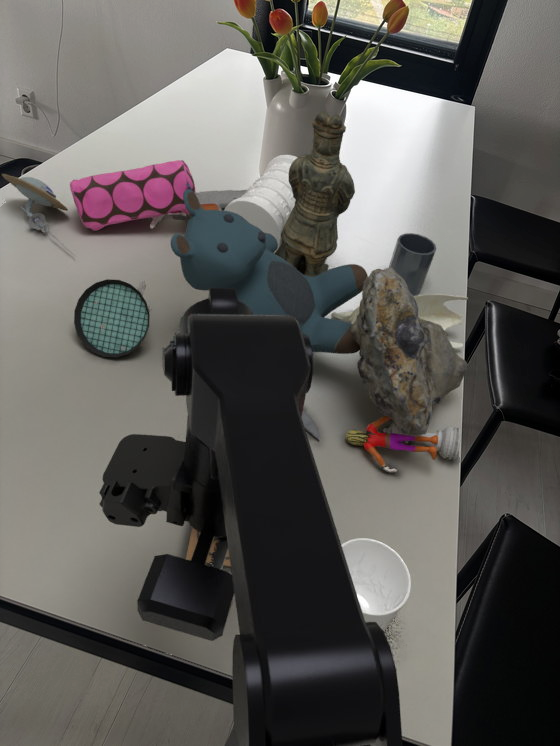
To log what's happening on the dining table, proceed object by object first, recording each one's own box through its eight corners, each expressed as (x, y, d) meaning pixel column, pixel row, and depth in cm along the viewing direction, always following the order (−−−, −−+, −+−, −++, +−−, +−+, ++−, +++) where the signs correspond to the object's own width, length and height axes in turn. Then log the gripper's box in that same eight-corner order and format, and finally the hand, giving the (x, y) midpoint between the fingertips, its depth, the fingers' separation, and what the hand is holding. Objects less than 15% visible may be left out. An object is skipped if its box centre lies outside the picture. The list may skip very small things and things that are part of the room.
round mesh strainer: (82, 266, 88) (99, 272, 94) (67, 348, 88) (84, 349, 94) (157, 281, 87) (169, 286, 93) (141, 364, 87) (154, 364, 94)
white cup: (378, 670, 62) (406, 626, 55) (303, 645, 62) (321, 598, 56) (388, 599, 67) (415, 552, 61) (319, 577, 68) (338, 527, 61)
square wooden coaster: (254, 570, 68) (254, 568, 67) (185, 560, 67) (185, 558, 67) (260, 512, 73) (261, 510, 73) (197, 503, 73) (197, 501, 73)
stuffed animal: (369, 384, 83) (254, 257, 63) (257, 405, 92) (127, 300, 72) (375, 252, 95) (279, 110, 75) (275, 283, 104) (167, 164, 84)
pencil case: (186, 154, 104) (198, 214, 107) (191, 161, 114) (202, 216, 116) (61, 176, 104) (76, 236, 106) (77, 181, 113) (90, 236, 116)
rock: (334, 366, 67) (479, 356, 63) (342, 242, 80) (463, 228, 76) (365, 480, 86) (477, 477, 82) (368, 365, 99) (465, 359, 95)
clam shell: (475, 285, 97) (467, 356, 100) (436, 274, 107) (430, 339, 111) (345, 292, 90) (343, 368, 94) (317, 280, 101) (316, 348, 105)
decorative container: (276, 267, 111) (313, 216, 122) (284, 215, 102) (324, 164, 113) (219, 244, 113) (260, 196, 124) (223, 191, 104) (267, 144, 115)
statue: (340, 274, 113) (382, 108, 92) (323, 300, 106) (364, 127, 86) (284, 254, 115) (313, 88, 94) (264, 278, 108) (290, 105, 88)
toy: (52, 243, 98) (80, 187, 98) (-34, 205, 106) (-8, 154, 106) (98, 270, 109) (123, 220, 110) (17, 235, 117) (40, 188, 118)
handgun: (317, 220, 120) (284, 182, 129) (189, 233, 109) (162, 191, 118) (314, 236, 122) (281, 199, 131) (188, 251, 111) (162, 208, 120)
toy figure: (351, 411, 85) (349, 404, 83) (440, 422, 82) (441, 415, 80) (341, 467, 82) (339, 460, 80) (433, 480, 79) (434, 474, 77)
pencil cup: (422, 299, 111) (438, 257, 105) (385, 293, 110) (399, 250, 104) (418, 278, 116) (433, 236, 110) (383, 272, 115) (396, 230, 109)
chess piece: (458, 454, 80) (382, 438, 82) (452, 465, 84) (379, 450, 85) (462, 423, 82) (387, 409, 83) (456, 435, 86) (384, 421, 87)
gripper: (161, 335, 49) (159, 445, 61) (51, 545, 36) (75, 633, 48) (296, 372, 49) (267, 476, 60) (232, 598, 36) (211, 674, 48)
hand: (209, 553), depth 54 cm, fingers open, 9 cm apart
